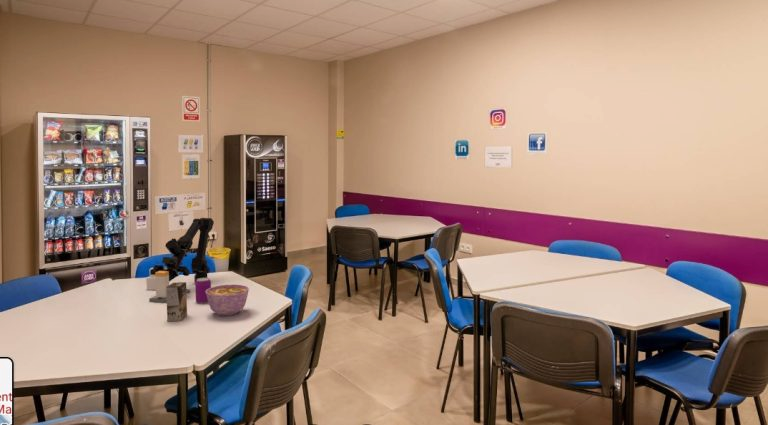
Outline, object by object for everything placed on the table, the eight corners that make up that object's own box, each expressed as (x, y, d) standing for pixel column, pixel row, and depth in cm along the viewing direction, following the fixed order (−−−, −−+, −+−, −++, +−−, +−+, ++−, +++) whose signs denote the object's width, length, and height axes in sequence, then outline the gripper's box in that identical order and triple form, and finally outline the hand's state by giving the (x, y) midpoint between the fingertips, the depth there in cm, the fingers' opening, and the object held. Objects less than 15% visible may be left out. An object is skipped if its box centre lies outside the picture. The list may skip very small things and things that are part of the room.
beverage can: (214, 300, 255) (214, 278, 254) (203, 304, 248) (202, 281, 247) (203, 298, 258) (203, 276, 257) (192, 302, 251) (191, 280, 250)
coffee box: (181, 321, 223) (180, 287, 221) (166, 321, 222) (165, 287, 221) (187, 314, 232) (186, 282, 230) (173, 315, 232) (172, 282, 230)
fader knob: (161, 294, 257) (160, 270, 256) (169, 295, 256) (168, 271, 255) (156, 297, 253) (155, 272, 252) (164, 297, 252) (163, 273, 251)
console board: (173, 291, 272) (173, 288, 272) (190, 292, 271) (189, 289, 270) (149, 301, 252) (149, 298, 252) (166, 303, 250) (166, 299, 250)
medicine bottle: (165, 287, 280) (164, 266, 279) (158, 290, 273) (157, 269, 272) (153, 286, 281) (152, 266, 279) (146, 290, 274) (145, 269, 272)
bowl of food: (215, 306, 246) (214, 283, 245) (254, 307, 245) (254, 284, 244) (199, 319, 226) (198, 295, 225) (241, 320, 225) (241, 296, 224)
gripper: (154, 249, 261) (141, 274, 252) (186, 251, 258) (174, 276, 248) (164, 261, 270) (152, 285, 260) (194, 263, 267) (183, 287, 257)
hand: (165, 283), depth 256 cm, fingers closed, pressing on fader knob
